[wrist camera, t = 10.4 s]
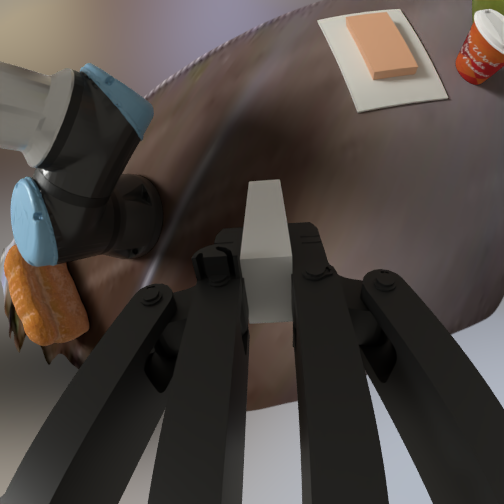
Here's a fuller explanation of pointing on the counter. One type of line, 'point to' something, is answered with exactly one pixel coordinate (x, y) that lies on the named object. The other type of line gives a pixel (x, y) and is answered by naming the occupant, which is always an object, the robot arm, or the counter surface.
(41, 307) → the bread
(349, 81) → the mat
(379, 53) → the card box
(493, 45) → the paper cup
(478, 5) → the flower pot
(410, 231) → the counter surface
